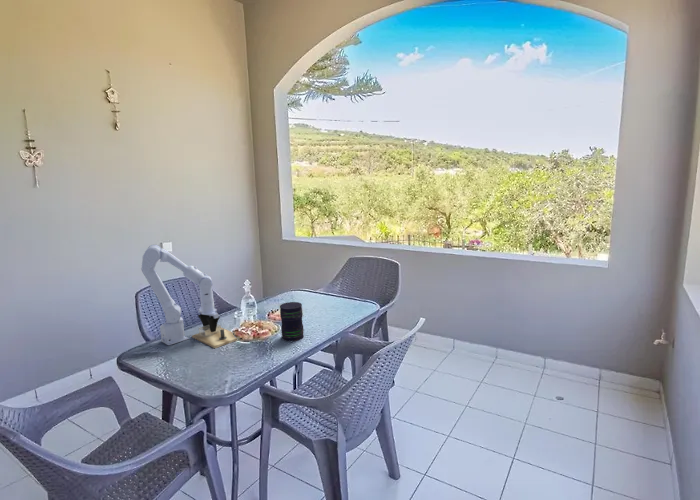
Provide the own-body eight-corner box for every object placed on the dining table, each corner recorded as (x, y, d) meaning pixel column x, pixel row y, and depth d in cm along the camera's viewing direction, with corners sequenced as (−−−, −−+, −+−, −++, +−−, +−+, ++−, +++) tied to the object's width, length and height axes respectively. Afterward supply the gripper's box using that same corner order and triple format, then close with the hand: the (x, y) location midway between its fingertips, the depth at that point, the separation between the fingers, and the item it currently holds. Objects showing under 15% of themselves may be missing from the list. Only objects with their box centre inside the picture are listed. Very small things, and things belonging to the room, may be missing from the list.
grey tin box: (205, 336, 197) (204, 330, 196) (199, 334, 200) (198, 327, 200) (221, 331, 202) (220, 325, 202) (215, 329, 206) (214, 323, 206)
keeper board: (214, 348, 186) (213, 337, 185) (192, 337, 199) (191, 327, 198) (242, 338, 196) (242, 327, 195) (219, 328, 209) (218, 318, 208)
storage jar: (277, 338, 194) (274, 306, 191) (291, 331, 202) (289, 300, 199) (294, 343, 188) (292, 310, 185) (308, 335, 196) (306, 303, 193)
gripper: (223, 302, 197) (226, 330, 199) (207, 297, 206) (209, 324, 209) (209, 306, 192) (212, 335, 194) (193, 300, 201) (196, 328, 204)
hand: (210, 330), depth 201 cm, fingers closed on grey tin box, 6 cm apart
